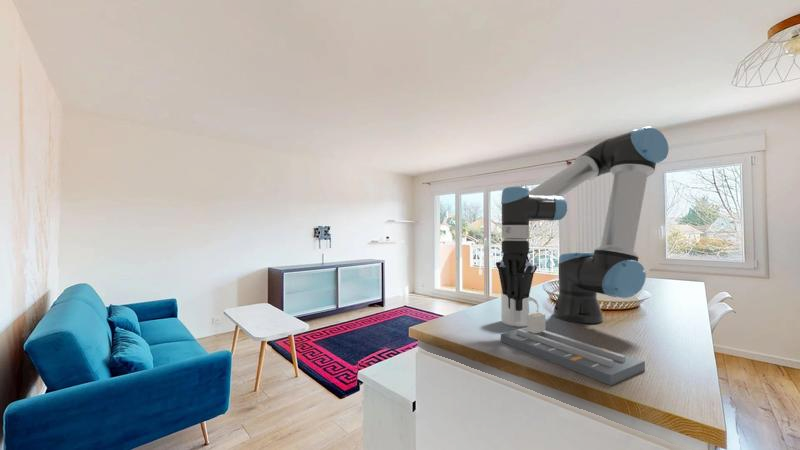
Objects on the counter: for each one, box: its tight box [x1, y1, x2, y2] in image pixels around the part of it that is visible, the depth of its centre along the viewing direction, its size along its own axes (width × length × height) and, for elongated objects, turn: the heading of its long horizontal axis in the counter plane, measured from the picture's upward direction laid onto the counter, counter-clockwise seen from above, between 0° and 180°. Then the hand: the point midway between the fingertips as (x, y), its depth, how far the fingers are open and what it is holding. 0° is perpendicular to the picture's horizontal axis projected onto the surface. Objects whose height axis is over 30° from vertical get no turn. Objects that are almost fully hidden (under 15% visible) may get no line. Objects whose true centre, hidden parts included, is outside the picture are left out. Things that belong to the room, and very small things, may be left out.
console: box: [500, 327, 646, 386], centre depth 76 cm, size 14×28×3 cm, turn 29°
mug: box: [500, 289, 539, 328], centre depth 102 cm, size 9×12×11 cm
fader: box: [526, 312, 546, 336], centre depth 83 cm, size 4×2×6 cm, turn 119°
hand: (515, 321), depth 89 cm, fingers closed
